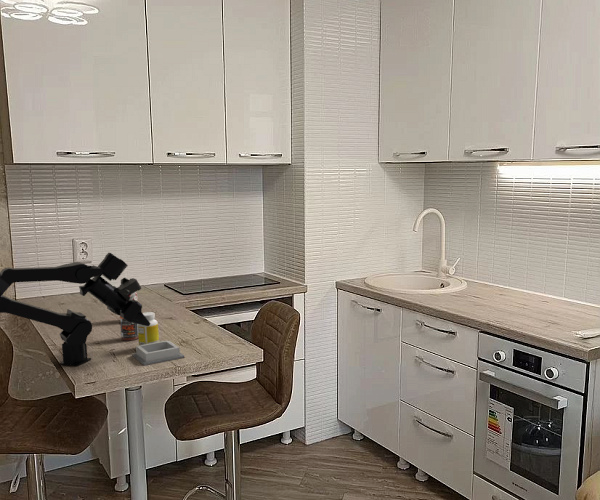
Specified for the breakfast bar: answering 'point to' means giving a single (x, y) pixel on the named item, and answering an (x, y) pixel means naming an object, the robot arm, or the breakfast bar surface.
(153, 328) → the pill bottle
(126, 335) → the supplement bottle
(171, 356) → the socket block
